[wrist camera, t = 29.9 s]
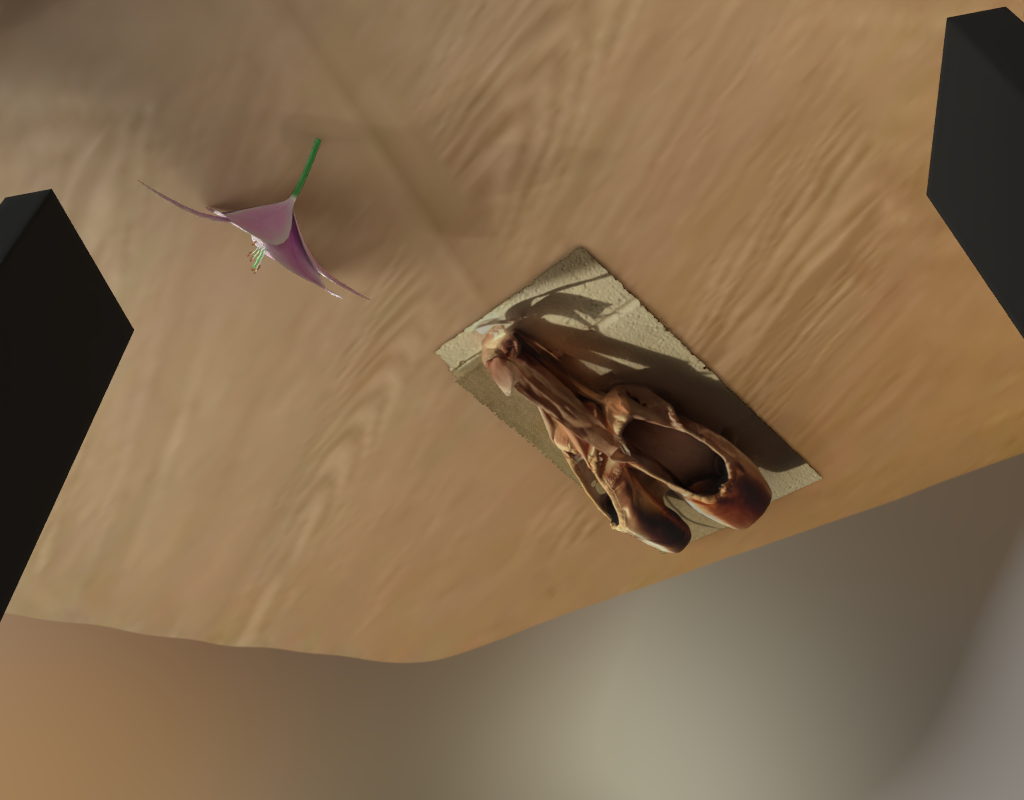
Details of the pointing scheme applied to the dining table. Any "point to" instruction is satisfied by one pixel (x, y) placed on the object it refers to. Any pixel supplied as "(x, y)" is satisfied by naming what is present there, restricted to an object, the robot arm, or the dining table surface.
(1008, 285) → the robot arm
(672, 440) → the ballet pointe shoes
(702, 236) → the dining table surface
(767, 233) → the dining table surface
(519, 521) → the dining table surface
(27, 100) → the dining table surface
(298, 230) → the lily
